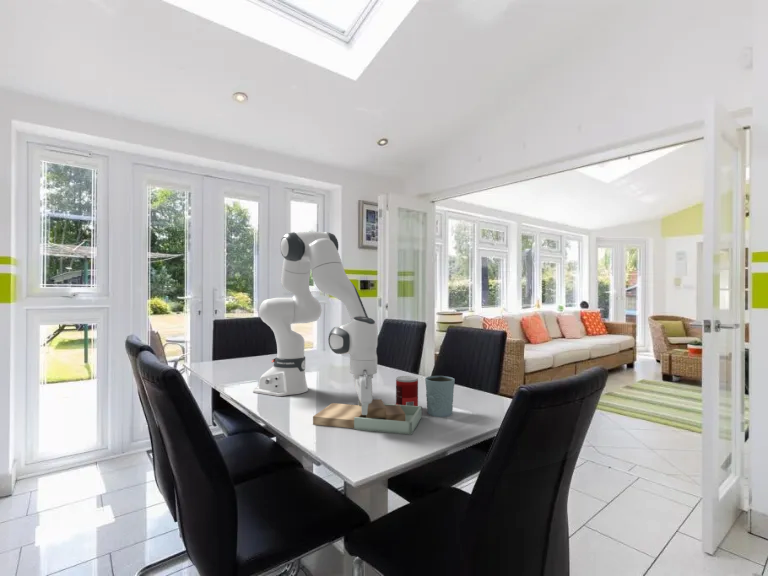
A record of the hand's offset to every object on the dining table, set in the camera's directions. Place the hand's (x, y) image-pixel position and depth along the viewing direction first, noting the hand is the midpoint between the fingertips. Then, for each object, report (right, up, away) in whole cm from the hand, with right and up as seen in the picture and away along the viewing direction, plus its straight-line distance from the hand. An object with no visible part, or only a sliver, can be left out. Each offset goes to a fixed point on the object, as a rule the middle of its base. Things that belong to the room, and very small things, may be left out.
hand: (362, 409), depth 136 cm
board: (-7, -4, +2) cm, 8 cm away
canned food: (+15, -4, +14) cm, 21 cm away
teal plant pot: (+26, -4, +9) cm, 28 cm away
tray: (+9, -4, -2) cm, 10 cm away
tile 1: (+4, -1, +1) cm, 4 cm away
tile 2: (+10, -3, 0) cm, 10 cm away
